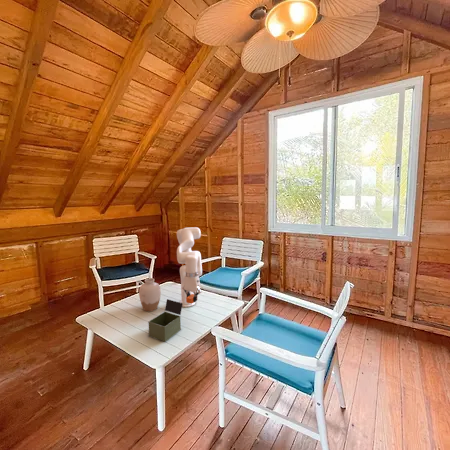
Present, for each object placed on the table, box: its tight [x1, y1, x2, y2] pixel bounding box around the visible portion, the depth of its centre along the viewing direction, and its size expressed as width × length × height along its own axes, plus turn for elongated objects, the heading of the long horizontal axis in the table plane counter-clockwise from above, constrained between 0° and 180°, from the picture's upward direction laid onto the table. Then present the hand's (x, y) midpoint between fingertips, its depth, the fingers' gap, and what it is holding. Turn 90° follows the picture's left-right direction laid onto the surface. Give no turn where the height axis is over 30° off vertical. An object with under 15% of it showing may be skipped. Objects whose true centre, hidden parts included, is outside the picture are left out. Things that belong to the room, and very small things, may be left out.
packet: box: [186, 293, 194, 304], centre depth 164 cm, size 6×4×3 cm
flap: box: [164, 299, 183, 316], centre depth 165 cm, size 7×13×1 cm
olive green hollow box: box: [148, 311, 182, 343], centre depth 159 cm, size 15×13×10 cm
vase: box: [138, 277, 162, 312], centre depth 190 cm, size 16×16×23 cm
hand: (191, 300), depth 164 cm, fingers closed on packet, 4 cm apart
